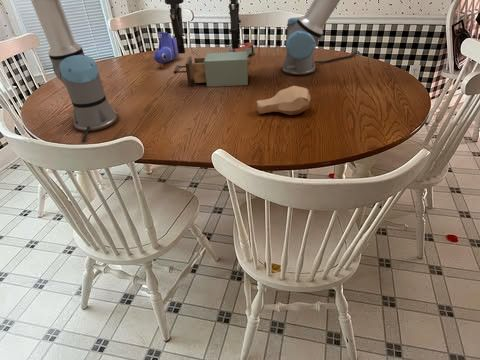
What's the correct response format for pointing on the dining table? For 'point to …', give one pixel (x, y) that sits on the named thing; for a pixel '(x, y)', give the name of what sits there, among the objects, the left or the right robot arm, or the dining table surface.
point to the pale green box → (226, 69)
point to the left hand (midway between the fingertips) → (181, 52)
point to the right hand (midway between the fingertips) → (236, 43)
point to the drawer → (194, 70)
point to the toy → (166, 49)
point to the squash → (286, 101)
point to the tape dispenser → (244, 49)
